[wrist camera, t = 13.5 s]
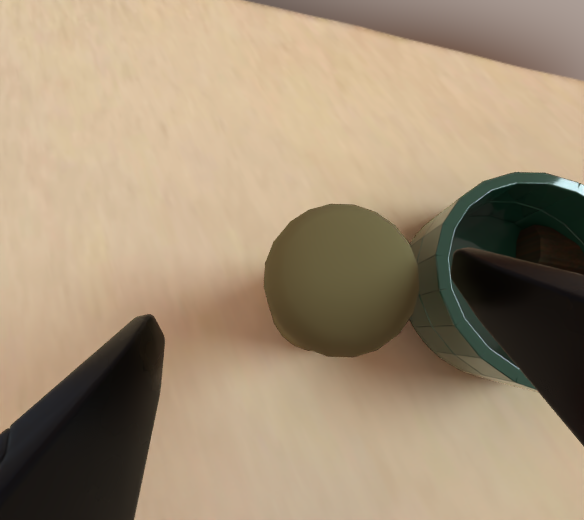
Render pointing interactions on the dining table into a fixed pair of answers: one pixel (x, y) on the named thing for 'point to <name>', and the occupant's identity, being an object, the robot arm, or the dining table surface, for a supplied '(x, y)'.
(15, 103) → the dining table surface
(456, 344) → the pot
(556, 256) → the kitchen knife
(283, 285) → the olive pestle
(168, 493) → the dining table surface
